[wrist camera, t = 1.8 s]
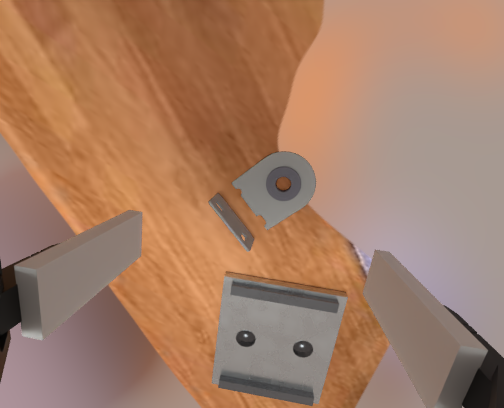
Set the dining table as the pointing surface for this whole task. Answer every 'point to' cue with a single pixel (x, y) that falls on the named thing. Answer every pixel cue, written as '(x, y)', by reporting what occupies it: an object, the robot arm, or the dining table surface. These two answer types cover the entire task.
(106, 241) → the robot arm
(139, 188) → the dining table surface
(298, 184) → the bracket
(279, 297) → the mount plate
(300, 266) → the dining table surface
